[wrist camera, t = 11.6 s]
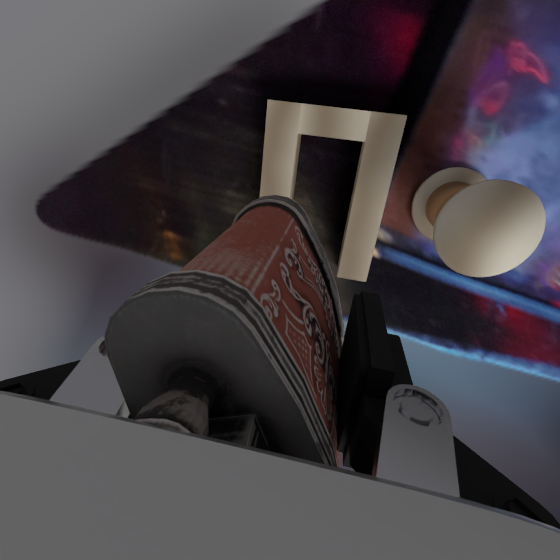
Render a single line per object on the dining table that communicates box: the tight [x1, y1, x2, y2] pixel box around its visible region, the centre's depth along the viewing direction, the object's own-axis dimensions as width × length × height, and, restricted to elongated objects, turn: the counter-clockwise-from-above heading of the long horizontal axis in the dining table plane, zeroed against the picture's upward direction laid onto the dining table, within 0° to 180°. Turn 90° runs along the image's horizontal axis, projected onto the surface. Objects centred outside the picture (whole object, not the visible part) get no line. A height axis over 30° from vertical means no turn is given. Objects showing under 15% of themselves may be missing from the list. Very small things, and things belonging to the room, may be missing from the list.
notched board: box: [260, 100, 407, 282], centre depth 27 cm, size 10×13×2 cm
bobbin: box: [411, 167, 546, 277], centre depth 23 cm, size 6×6×8 cm
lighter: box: [104, 195, 344, 468], centre depth 8 cm, size 8×3×10 cm, turn 17°
